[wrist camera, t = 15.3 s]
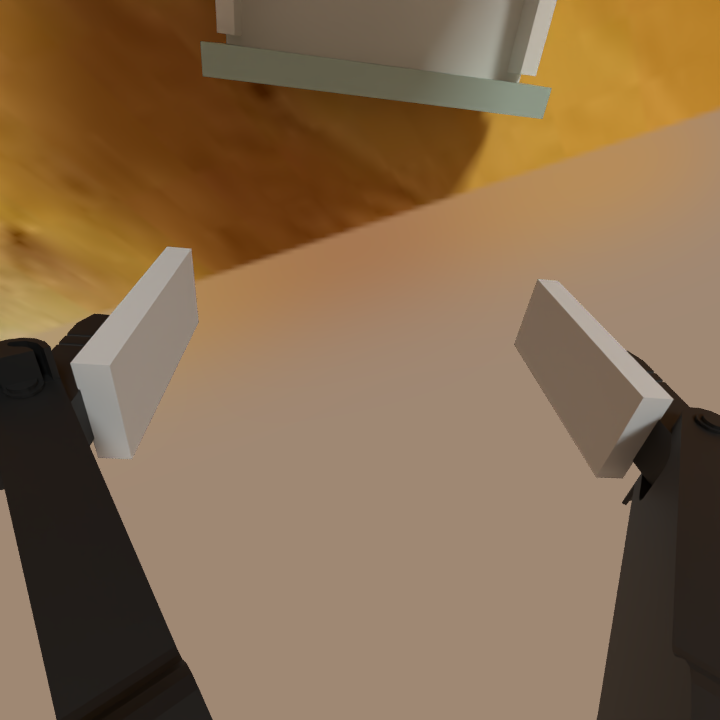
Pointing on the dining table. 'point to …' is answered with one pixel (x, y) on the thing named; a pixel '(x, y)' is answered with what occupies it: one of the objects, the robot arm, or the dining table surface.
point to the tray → (389, 49)
